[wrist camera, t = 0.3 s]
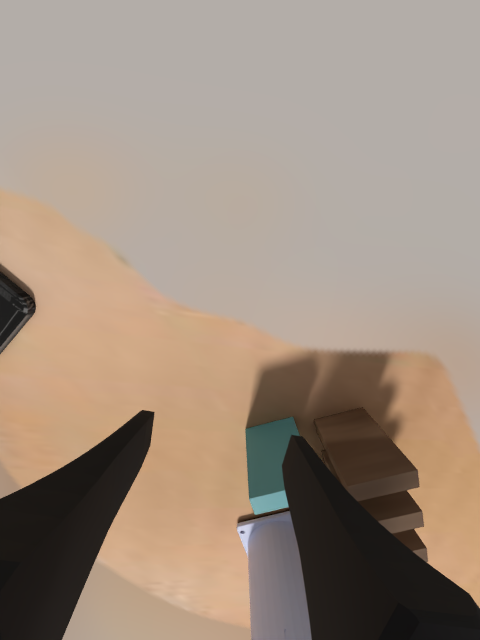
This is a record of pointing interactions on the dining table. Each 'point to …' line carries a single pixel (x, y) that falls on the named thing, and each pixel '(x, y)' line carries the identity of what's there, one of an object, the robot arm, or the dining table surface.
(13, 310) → the phone
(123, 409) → the dining table surface
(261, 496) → the domino teal placed
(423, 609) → the robot arm
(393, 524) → the domino
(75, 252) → the dining table surface
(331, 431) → the domino
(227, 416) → the dining table surface
